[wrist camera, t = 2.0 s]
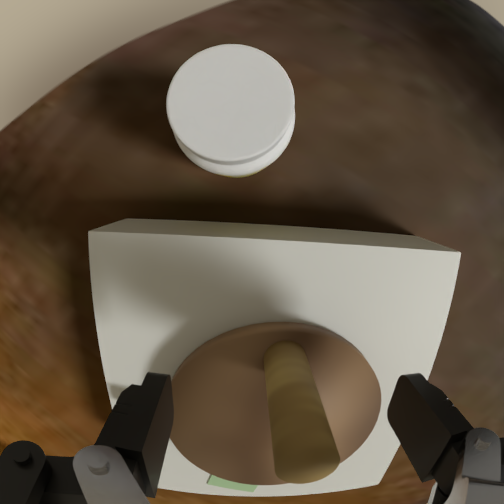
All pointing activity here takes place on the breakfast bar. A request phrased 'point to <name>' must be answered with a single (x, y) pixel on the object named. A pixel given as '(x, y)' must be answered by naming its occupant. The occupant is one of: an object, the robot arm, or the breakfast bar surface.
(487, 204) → the breakfast bar surface
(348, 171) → the breakfast bar surface
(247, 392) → the tuning dial
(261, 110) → the supplement bottle
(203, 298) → the box
